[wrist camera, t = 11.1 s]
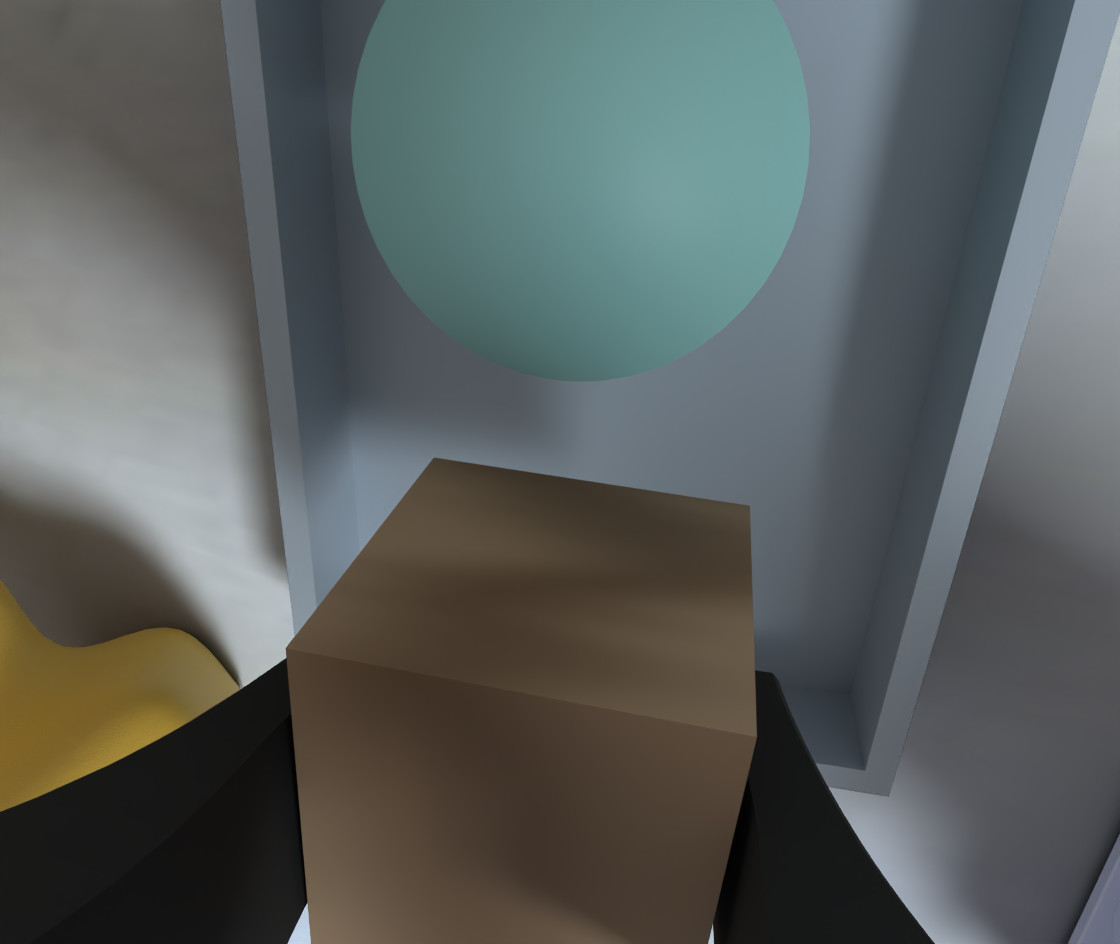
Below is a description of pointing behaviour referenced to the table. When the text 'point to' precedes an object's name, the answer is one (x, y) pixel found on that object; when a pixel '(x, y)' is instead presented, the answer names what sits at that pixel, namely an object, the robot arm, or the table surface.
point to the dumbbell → (92, 699)
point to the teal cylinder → (580, 171)
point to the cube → (527, 715)
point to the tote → (728, 357)
